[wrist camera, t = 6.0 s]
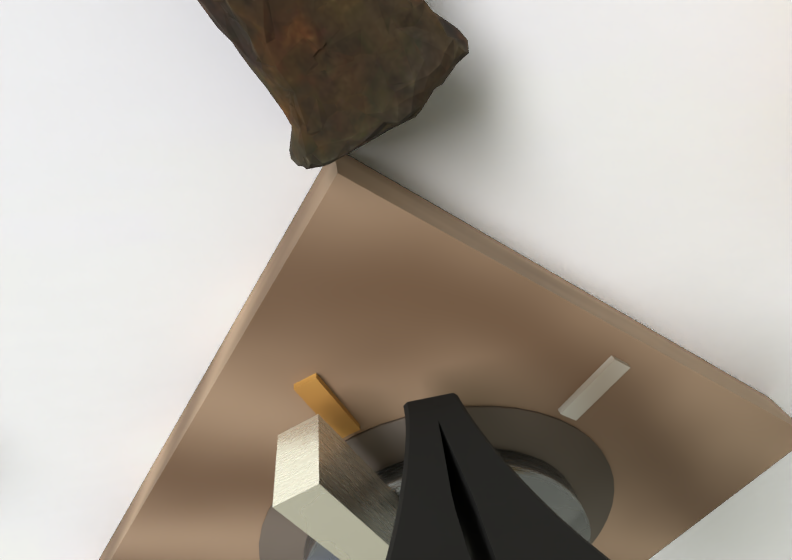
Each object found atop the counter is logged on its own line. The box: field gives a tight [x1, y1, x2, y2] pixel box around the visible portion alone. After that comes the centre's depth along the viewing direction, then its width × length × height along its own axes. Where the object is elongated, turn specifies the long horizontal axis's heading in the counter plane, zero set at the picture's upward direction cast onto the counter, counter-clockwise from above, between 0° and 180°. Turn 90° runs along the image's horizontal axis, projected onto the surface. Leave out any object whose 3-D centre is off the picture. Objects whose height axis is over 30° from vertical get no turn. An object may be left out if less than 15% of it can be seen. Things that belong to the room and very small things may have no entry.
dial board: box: [99, 155, 792, 560], centre depth 19 cm, size 20×20×2 cm
